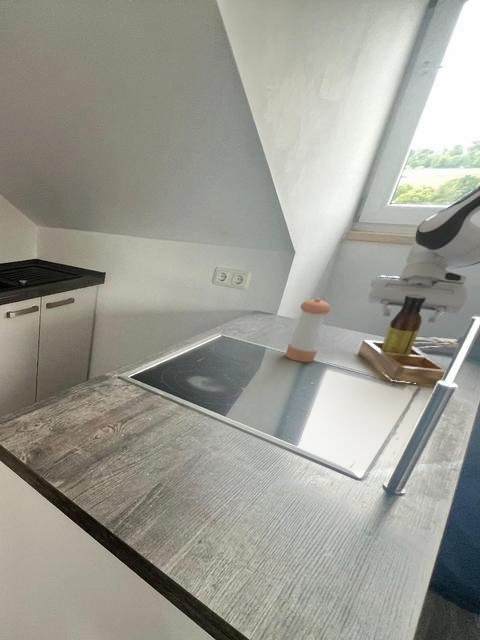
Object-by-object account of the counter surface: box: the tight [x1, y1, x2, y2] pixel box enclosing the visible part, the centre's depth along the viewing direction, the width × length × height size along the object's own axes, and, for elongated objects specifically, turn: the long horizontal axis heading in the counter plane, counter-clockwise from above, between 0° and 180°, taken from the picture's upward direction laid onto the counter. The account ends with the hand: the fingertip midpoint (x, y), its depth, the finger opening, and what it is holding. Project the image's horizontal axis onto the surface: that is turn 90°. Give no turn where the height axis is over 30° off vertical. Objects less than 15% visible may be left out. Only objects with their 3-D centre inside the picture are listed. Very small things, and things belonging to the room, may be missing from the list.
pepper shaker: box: [285, 297, 331, 363], centre depth 119 cm, size 7×7×19 cm
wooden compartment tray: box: [358, 339, 448, 388], centre depth 112 cm, size 12×22×5 cm, turn 159°
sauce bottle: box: [381, 295, 426, 354], centre depth 113 cm, size 7×6×20 cm
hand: (407, 318), depth 114 cm, fingers open, 8 cm apart
